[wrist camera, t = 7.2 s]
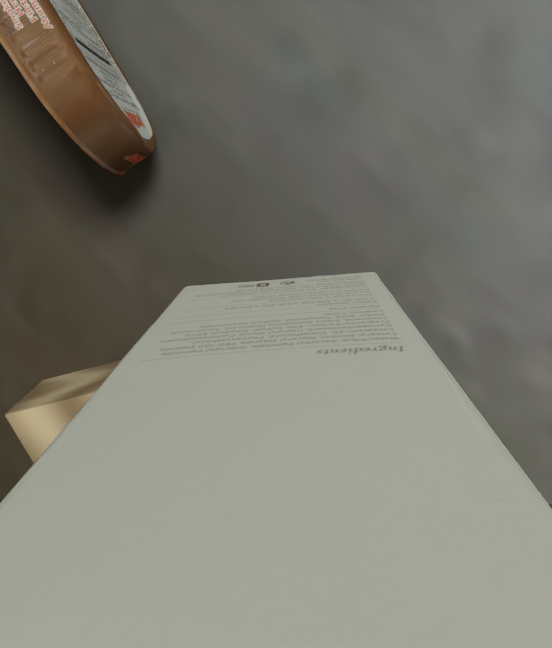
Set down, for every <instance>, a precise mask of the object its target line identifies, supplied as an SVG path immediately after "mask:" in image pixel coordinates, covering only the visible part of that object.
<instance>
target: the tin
mask: <svg viewBox="0 0 552 648" xmlns="http://www.w3.org/2000/svg"><path fill="white" fill-rule="evenodd" d="M0 43H1V45H2V46H3V48H4V49H5V50H6V52H7V53H8V55H9V56H10V58H11V59H12V61H13V62H14V64H15V65H16V67H17V68H18V70H19V71H20V73H21V74H22V76H23V77H24V79H25V80H26V82H27V83H28V85H29V86H30V87H31V89H32V90H33V92H34V93H35V95H36V96H37V97H38V99H39V100H40V101H41V103H42V104H43V105H44V107H45V108H46V109H47V110H48V112H49V113H50V114H51V115H52V117H53V118H54V119H55V120H56V121H57V123H58V124H59V125H60V126H61V128H62V129H63V130H64V131H65V132H66V133H67V134H68V135H69V136H70V137H71V138H72V139H73V141H74V142H75V143H76V144H77V145H78V146H79V147H80V148H81V149H82V150H83V151H84V152H85V153H86V154H87V155H88V156H89V157H90V158H92V159H93V160H94V161H95V162H97V163H98V164H99V165H100V166H102V167H103V168H104V169H106V170H108V171H109V172H111V173H114V174H116V175H123V174H125V173H126V172H127V169H129V168H130V167H132V166H133V165H135V164H137V163H138V162H140V161H141V160H143V159H145V158H146V157H147V156H149V155H150V154H151V153H152V152H153V151H154V150H155V148H156V145H157V138H156V134H155V131H154V129H153V126H152V124H151V122H150V120H149V118H148V116H147V114H146V112H145V110H144V108H143V106H142V104H141V103H140V101H139V99H138V97H137V95H136V94H135V92H134V90H133V89H132V87H131V85H130V84H129V82H128V80H127V79H126V77H125V75H124V74H123V72H122V70H121V69H120V67H119V65H118V63H117V62H116V60H115V58H114V57H113V55H112V53H111V52H110V50H109V48H108V47H107V45H106V43H105V41H104V40H103V38H102V36H101V35H100V33H99V31H98V30H97V28H96V26H95V25H94V23H93V21H92V20H91V18H90V16H89V15H88V13H87V12H86V10H85V8H84V7H83V5H82V3H81V2H80V0H0Z"/></svg>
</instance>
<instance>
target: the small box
mask: <svg viewBox="0 0 552 648" xmlns="http://www.w3.org/2000/svg"><path fill="white" fill-rule="evenodd" d="M0 648H552V509H551V507H550V506H549V505H548V503H547V502H546V501H545V499H544V498H543V497H542V495H541V494H540V493H539V491H538V490H537V489H536V487H535V486H534V485H533V483H532V482H531V481H530V479H529V478H528V477H527V475H526V474H525V473H524V471H523V470H522V469H521V467H520V466H519V465H518V463H517V462H516V461H515V459H514V458H513V457H512V455H511V454H510V453H509V451H508V450H507V449H506V447H505V446H504V445H503V443H502V442H501V441H500V439H499V438H498V437H497V435H496V434H495V433H494V431H493V430H492V429H491V427H490V426H489V425H488V423H487V422H486V421H485V419H484V418H483V417H482V415H481V414H480V413H479V411H478V410H477V409H476V407H475V406H474V405H473V403H472V402H471V401H470V399H469V398H468V397H467V395H466V394H465V393H464V391H463V390H462V389H461V387H460V386H459V384H458V383H457V382H456V380H455V379H454V378H453V376H452V375H451V373H450V372H449V371H448V370H447V368H446V367H445V366H444V364H443V363H442V362H441V361H440V359H439V358H438V357H437V355H436V354H435V353H434V351H433V350H432V349H431V347H430V346H429V345H428V343H427V342H426V341H425V339H424V338H423V337H422V335H421V334H420V333H419V332H418V330H417V329H416V328H415V326H414V325H413V324H412V322H411V321H410V320H409V318H408V317H407V316H406V314H405V313H404V311H403V310H402V309H401V307H400V306H399V305H398V303H397V302H396V300H395V299H394V297H393V296H392V294H391V293H390V292H389V291H388V289H387V288H386V287H385V285H384V284H383V283H382V281H381V280H380V278H379V277H378V275H377V274H376V273H374V272H366V273H355V274H341V275H329V276H315V277H304V278H292V279H280V280H267V281H256V282H242V283H225V284H212V285H197V286H187V287H185V288H184V289H183V290H182V291H181V292H180V293H179V295H178V296H177V297H176V298H175V299H174V300H173V301H172V303H171V304H170V305H169V306H168V308H167V309H166V310H165V311H164V312H163V313H162V315H161V316H160V317H159V318H158V319H157V320H156V322H155V323H154V324H153V325H152V326H151V327H150V328H149V329H148V330H147V331H146V333H145V334H144V335H143V336H142V337H141V338H140V339H139V341H138V342H137V343H136V344H135V345H134V346H133V348H132V349H131V350H130V351H129V352H128V353H127V355H126V356H125V357H124V358H123V359H122V360H121V362H120V363H119V364H118V365H117V366H116V368H115V369H114V370H113V371H112V372H111V374H110V375H109V376H108V377H107V378H106V380H105V381H104V382H103V383H102V384H101V386H100V387H99V388H98V389H97V390H96V392H95V393H94V394H93V395H92V396H91V397H90V398H89V399H88V400H87V402H86V403H85V404H84V405H83V406H82V408H81V409H80V410H79V411H78V412H77V413H76V415H75V416H74V417H73V418H72V419H71V420H70V421H69V423H68V424H67V425H66V426H65V427H64V429H63V430H62V431H61V432H60V433H59V435H58V436H57V437H56V438H55V439H54V441H53V442H52V443H51V444H50V445H49V446H48V448H47V449H46V450H45V451H44V452H43V453H42V455H41V456H40V457H39V458H38V459H37V460H36V461H35V463H34V464H33V465H32V466H31V467H30V469H29V470H28V471H27V472H26V473H25V474H24V476H23V477H22V478H21V479H20V480H19V482H18V483H17V484H16V485H15V486H14V487H13V489H12V490H11V491H10V492H9V493H8V495H7V496H6V497H5V498H4V499H3V500H2V502H1V503H0Z"/></svg>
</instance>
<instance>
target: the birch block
mask: <svg viewBox="0 0 552 648" xmlns="http://www.w3.org/2000/svg"><path fill="white" fill-rule="evenodd" d="M120 362H121V360H120V361H116V362H112V363H108V364H105V365H101V366H97V367H93V368H89V369H85V370H81V371H77V372H73V373H70V374H66V375H62V376H58V377H54V378H50V379H46V380H42V381H41V382H40V383H39V384H38V385H37V386H36V387H35V388H34V389H32V390H31V391H30V392H29V393H28V394H27V395H26V396H25V397H24V398H23V399H22V400H20V401H19V402H18V403H17V404H16V405H15V406H14V407H13V408H12V409H11V410H10V411H8V412H7V413H6V414H5V416H6V418H7V419H8V421H9V423H10V424H11V426H12V428H13V429H14V431H15V433H16V434H17V436H18V438H19V439H20V441H21V443H22V444H23V446H24V448H25V449H26V451H27V453H28V454H29V456H30V458H31V459H32V461H33V463H35V461H36V460H37V459H38V458H39V457H40V456H41V455H42V453H43V452H44V451H45V450H46V449H47V448H48V446H49V445H50V444H51V443H52V442H53V441H54V439H55V438H56V437H57V436H58V435H59V433H60V432H61V431H62V430H63V429H64V427H65V426H66V425H67V424H68V423H69V421H70V420H71V419H72V418H73V417H74V416H75V415H76V413H77V412H78V411H79V410H80V409H81V408H82V406H83V405H84V404H85V403H86V402H87V400H88V399H89V398H90V397H91V396H92V395H93V394H94V393H95V392H96V390H97V389H98V388H99V387H100V386H101V384H102V383H103V382H104V381H105V380H106V378H107V377H108V376H109V375H110V374H111V372H112V371H113V370H114V369H115V368H116V366H117V365H118V364H119V363H120Z"/></svg>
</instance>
